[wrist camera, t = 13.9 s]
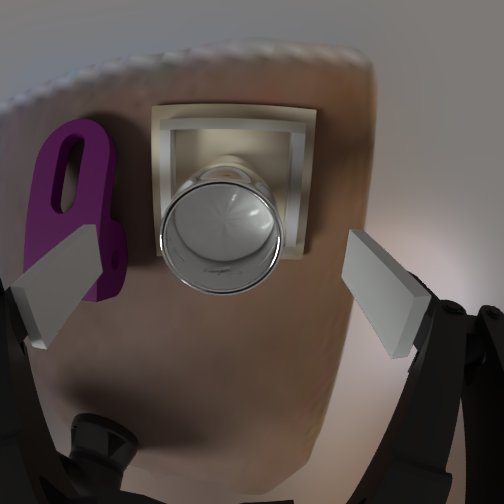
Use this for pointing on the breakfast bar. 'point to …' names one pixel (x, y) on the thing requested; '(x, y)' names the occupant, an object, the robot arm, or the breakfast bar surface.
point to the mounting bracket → (77, 203)
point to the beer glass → (222, 229)
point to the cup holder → (240, 144)
